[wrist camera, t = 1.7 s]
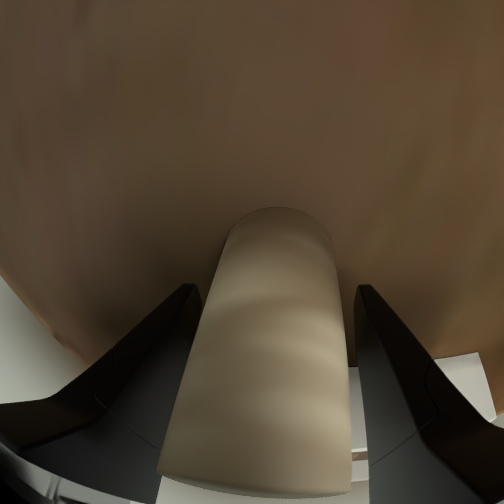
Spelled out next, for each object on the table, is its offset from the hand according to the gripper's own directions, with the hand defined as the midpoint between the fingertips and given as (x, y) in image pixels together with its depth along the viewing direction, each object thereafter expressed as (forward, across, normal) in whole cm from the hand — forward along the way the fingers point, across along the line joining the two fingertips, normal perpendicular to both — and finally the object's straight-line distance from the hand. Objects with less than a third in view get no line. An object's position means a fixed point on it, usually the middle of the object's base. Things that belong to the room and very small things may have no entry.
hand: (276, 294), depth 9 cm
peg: (+2, 0, 0) cm, 2 cm away
